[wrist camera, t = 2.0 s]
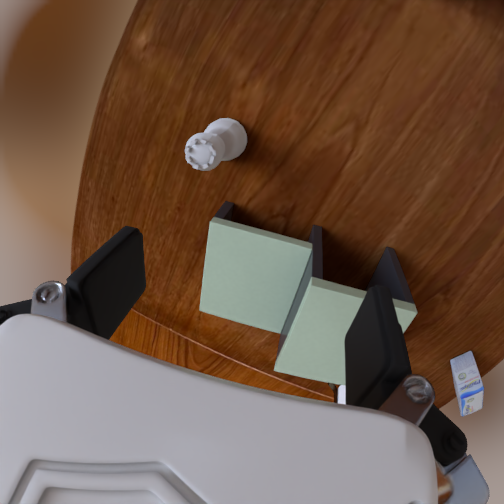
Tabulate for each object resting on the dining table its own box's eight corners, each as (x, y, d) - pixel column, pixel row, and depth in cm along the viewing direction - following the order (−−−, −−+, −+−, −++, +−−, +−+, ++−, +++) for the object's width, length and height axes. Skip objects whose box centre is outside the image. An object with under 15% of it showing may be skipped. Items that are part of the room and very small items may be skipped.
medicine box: (472, 371, 39) (483, 408, 32) (452, 380, 41) (461, 418, 33) (471, 349, 36) (485, 389, 29) (449, 359, 38) (460, 400, 31)
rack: (225, 200, 32) (188, 250, 23) (393, 248, 31) (417, 312, 22) (212, 283, 39) (182, 344, 29) (355, 321, 37) (359, 388, 28)
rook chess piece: (219, 109, 27) (188, 116, 20) (256, 131, 28) (237, 145, 21) (199, 145, 29) (165, 163, 23) (234, 166, 30) (210, 191, 23)
